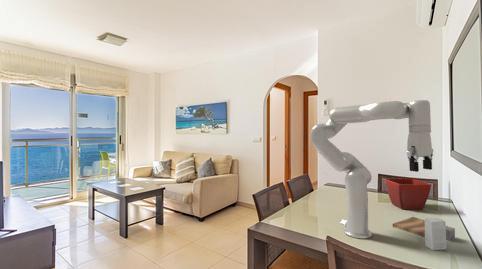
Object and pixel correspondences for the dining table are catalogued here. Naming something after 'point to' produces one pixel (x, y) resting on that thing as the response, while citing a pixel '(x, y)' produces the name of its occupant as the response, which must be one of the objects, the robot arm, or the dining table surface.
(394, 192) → the plant pot
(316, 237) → the dining table surface
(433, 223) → the skincare box
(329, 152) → the robot arm
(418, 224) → the walnut board
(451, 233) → the graphite block
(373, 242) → the dining table surface
